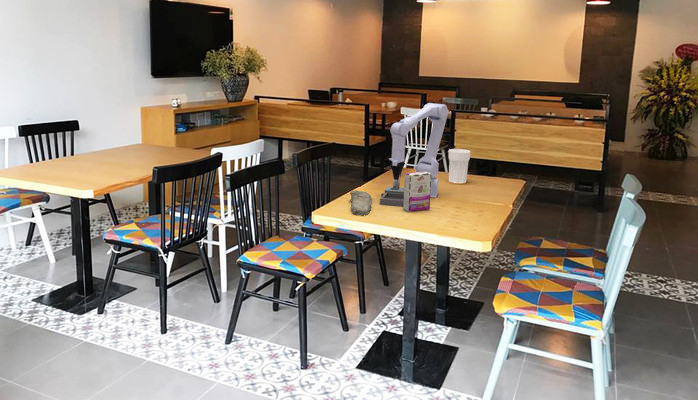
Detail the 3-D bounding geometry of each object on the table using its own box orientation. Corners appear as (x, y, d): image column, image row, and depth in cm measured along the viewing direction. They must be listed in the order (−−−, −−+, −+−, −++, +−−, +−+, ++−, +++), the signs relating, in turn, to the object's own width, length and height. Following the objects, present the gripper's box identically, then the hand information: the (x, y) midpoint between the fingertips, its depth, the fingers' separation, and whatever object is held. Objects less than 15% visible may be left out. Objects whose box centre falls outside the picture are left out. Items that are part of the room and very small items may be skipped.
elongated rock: (348, 219, 249) (371, 221, 249) (349, 207, 247) (373, 209, 247) (350, 195, 282) (370, 197, 282) (350, 184, 281) (371, 186, 281)
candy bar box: (423, 207, 266) (425, 171, 262) (430, 209, 261) (432, 173, 257) (402, 209, 260) (404, 172, 257) (408, 212, 256) (410, 174, 252)
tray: (413, 200, 277) (413, 194, 276) (408, 207, 265) (408, 201, 264) (385, 198, 280) (385, 192, 279) (379, 204, 268) (379, 198, 267)
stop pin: (400, 187, 275) (401, 168, 273) (398, 189, 272) (399, 169, 270) (393, 187, 276) (394, 168, 273) (392, 188, 273) (393, 169, 271)
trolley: (412, 195, 287) (413, 181, 286) (409, 199, 279) (410, 184, 277) (384, 192, 291) (385, 178, 289) (381, 197, 282) (381, 182, 280)
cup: (471, 182, 321) (473, 150, 317) (463, 186, 311) (465, 153, 307) (451, 179, 327) (453, 148, 322) (443, 183, 317) (445, 150, 313)
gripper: (393, 146, 277) (391, 175, 280) (386, 151, 264) (385, 181, 267) (407, 147, 275) (406, 176, 279) (402, 152, 262) (400, 182, 265)
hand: (396, 178), depth 273 cm, fingers closed on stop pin, 3 cm apart
